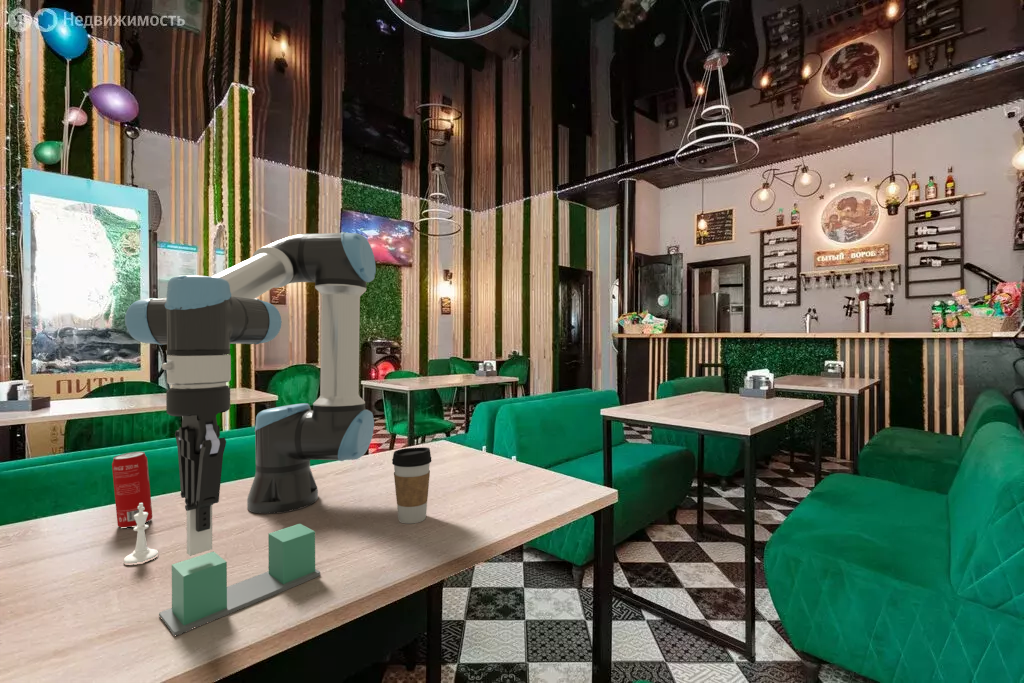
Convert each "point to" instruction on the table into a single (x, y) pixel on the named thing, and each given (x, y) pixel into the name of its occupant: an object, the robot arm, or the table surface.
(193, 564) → the green block
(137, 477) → the beverage can
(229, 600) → the stand
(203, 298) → the robot arm
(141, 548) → the chess piece
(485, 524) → the table surface
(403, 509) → the coffee cup
